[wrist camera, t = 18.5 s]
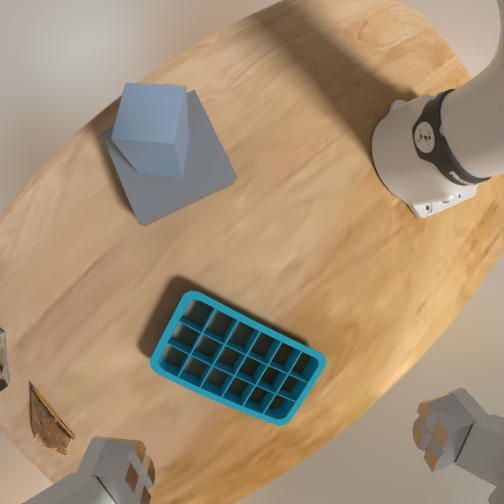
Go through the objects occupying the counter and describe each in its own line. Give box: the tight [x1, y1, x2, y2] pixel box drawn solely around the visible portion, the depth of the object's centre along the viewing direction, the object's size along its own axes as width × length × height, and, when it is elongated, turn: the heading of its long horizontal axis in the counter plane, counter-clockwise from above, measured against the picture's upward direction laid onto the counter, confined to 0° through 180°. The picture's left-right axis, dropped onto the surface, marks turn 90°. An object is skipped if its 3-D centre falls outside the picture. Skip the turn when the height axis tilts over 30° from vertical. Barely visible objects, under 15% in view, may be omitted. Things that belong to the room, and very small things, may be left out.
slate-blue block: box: [111, 83, 190, 178], centre depth 28 cm, size 5×5×12 cm
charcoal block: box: [102, 90, 237, 226], centre depth 36 cm, size 12×12×5 cm
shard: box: [31, 387, 75, 455], centre depth 36 cm, size 11×8×2 cm
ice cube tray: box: [150, 290, 326, 426], centre depth 39 cm, size 12×20×3 cm, turn 61°
